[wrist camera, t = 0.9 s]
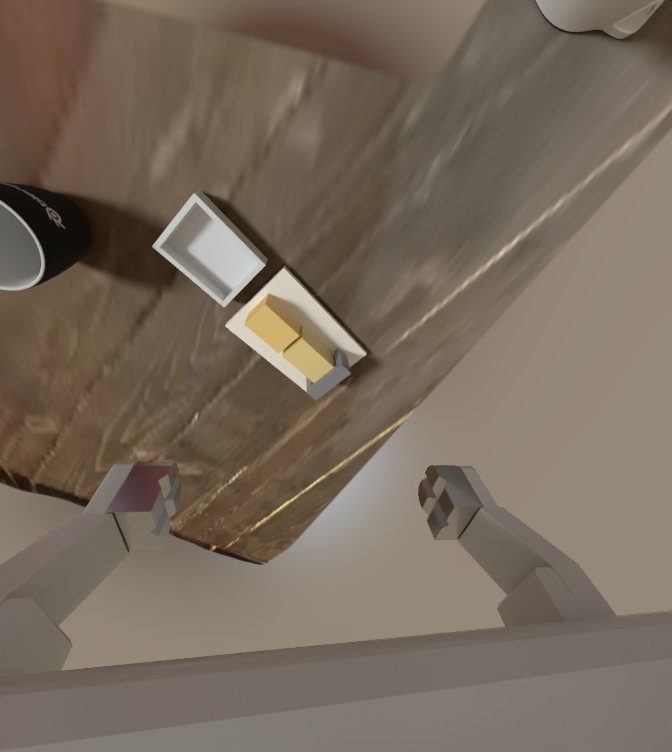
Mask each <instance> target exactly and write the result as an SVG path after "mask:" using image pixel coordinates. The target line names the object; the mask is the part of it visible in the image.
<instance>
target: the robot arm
mask: <svg viewBox="0 0 672 752" xmlns="http://www.w3.org/2000/svg"><path fill="white" fill-rule="evenodd" d="M664 1H665V0H536V2H537V4H538V6H539V8H540V10H541V12H542V13H543V14H544V16H545V17H546V18H547V19H548V20H549V21H550V22H551V23H552V24H553V25H555V26H556V27H558V28H560V29H562V30H566V31H570V32H583V31H589V30H603V31H604V32H606V33H607V34H609V35H610V36H612V37H614V38H617V39H623V38H626V37H628V36H629V35H631V34H633V33H635V32H636V31H637V30H638V29H639V28H640V27H641V26H642V25H643V24H644V23H645V22H646V21H647V20H648V19H649V17H650V16H651V15H652V14H653V13H654V12H655V11H656V10H657V8H658V7H659V6H660V5H661V4H662V3H663V2H664ZM177 473H178V467H177V463H167V462H140V461H138V462H137V461H118V462H117V463H116V464H115V465H113V466H112V468H111V470H110V471H109V473H108V474H107V476H106V477H105V479H104V480H103V482H102V483H101V485H100V487H99V488H98V490H97V491H96V493H95V494H94V496H93V497H92V499H91V501H90V502H89V504H88V505H87V507H86V508H85V510H84V512H83V513H82V514H75V515H73V516H72V517H70V518H69V519H67V520H66V521H65V522H63V523H62V524H60V525H59V526H57V527H56V528H54V529H53V530H51V531H50V532H48V533H47V534H46V535H44V536H43V537H41V538H40V539H38V540H37V541H35V542H34V543H32V544H31V545H30V546H28V547H27V548H25V549H24V550H22V551H21V552H19V553H18V554H16V555H15V556H13V557H12V558H10V559H9V560H8V561H6V562H5V563H3V564H2V565H0V752H672V610H669V611H658V612H649V613H638V614H628V615H619V616H617V615H616V614H615V613H614V611H613V610H612V609H611V607H610V606H609V605H608V603H607V602H606V601H605V599H604V598H603V597H602V595H601V594H600V592H599V591H598V590H597V588H596V587H595V586H594V585H593V583H592V582H591V580H590V579H589V578H588V576H587V575H586V574H585V572H584V571H583V570H582V568H581V567H580V565H579V564H578V563H576V562H575V561H574V560H572V559H571V558H570V557H568V556H567V555H566V554H564V553H563V552H562V551H560V550H559V549H558V548H556V547H555V546H554V545H552V544H551V543H550V542H548V541H547V540H546V539H545V538H543V537H542V536H541V535H539V534H538V533H537V532H535V531H534V530H533V529H531V528H530V527H528V526H527V525H526V524H525V523H523V522H522V521H521V520H519V519H518V518H517V517H515V516H514V515H513V514H511V513H510V512H508V511H507V510H506V509H505V508H503V507H499V506H498V505H497V503H496V502H495V500H494V499H493V497H492V495H491V494H490V492H489V491H488V489H487V488H486V486H485V485H484V483H483V481H482V480H481V478H480V476H479V475H478V474H477V472H476V470H475V469H474V468H473V467H472V466H455V465H453V466H451V465H447V466H445V465H442V466H441V465H437V466H436V465H435V466H434V465H432V466H429V467H428V468H427V470H426V472H425V473H426V475H427V477H426V478H425V479H423V480H422V481H421V483H420V485H419V490H418V491H419V492H418V496H419V501H420V504H421V507H422V509H423V510H424V511H426V513H428V514H429V515H428V519H427V522H428V524H429V527H430V529H431V532H432V535H433V537H434V540H458V542H459V543H460V544H461V545H462V546H463V547H464V548H465V550H466V551H467V552H468V553H469V554H470V555H471V556H472V557H473V558H474V559H475V560H476V561H477V563H478V564H479V565H480V566H481V567H482V568H483V569H484V570H485V571H486V572H487V573H488V575H489V576H490V577H491V578H492V579H493V580H494V581H495V582H496V583H497V584H498V585H499V587H500V588H501V589H502V590H503V591H504V592H505V593H506V594H507V596H506V598H504V599H503V600H502V601H501V602H500V603H499V605H498V608H497V609H498V611H499V614H500V616H501V618H502V620H503V622H504V624H505V627H497V628H487V629H477V630H467V631H457V632H448V633H437V634H427V635H417V636H407V637H397V638H386V639H376V640H368V641H367V640H366V641H357V642H347V643H336V644H326V645H316V646H307V647H296V648H286V649H276V650H266V651H257V652H245V653H237V654H226V655H216V656H206V657H195V658H185V659H176V660H165V661H156V662H145V663H136V664H125V665H115V666H104V667H95V668H84V669H74V670H64V671H61V669H62V667H63V665H64V663H65V661H66V658H67V657H68V654H69V652H70V650H71V648H72V643H71V640H70V639H69V638H68V637H67V635H66V634H65V633H64V632H63V631H62V630H61V629H60V627H59V625H60V624H61V623H62V622H63V621H64V620H65V619H66V618H67V617H68V615H70V614H71V612H73V611H74V610H75V609H76V607H77V606H78V605H79V604H80V603H81V602H82V601H83V600H84V599H85V598H86V597H87V596H88V595H89V594H90V593H91V592H92V591H93V590H94V589H95V588H96V587H97V586H98V585H99V584H100V583H101V582H102V581H103V580H104V579H105V578H106V577H107V576H108V575H109V574H110V573H111V571H113V570H114V569H115V568H116V567H117V566H118V565H119V564H120V562H121V561H123V560H124V558H125V557H126V556H127V555H128V554H129V553H128V552H140V551H155V550H163V547H164V544H165V541H166V539H167V536H168V533H169V531H170V528H171V526H170V521H169V518H170V517H171V516H172V515H174V514H175V513H176V511H177V508H178V505H179V502H180V496H181V481H180V480H179V479H178V478H177V477H176V476H177Z"/></svg>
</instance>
